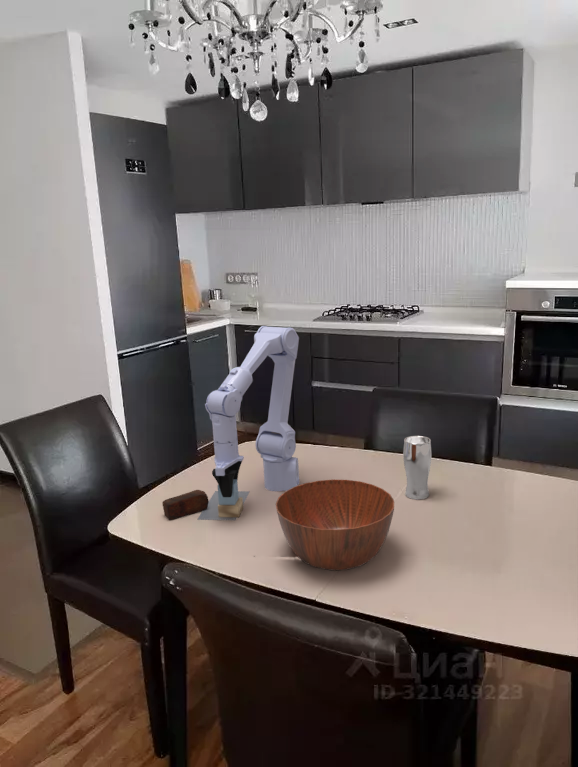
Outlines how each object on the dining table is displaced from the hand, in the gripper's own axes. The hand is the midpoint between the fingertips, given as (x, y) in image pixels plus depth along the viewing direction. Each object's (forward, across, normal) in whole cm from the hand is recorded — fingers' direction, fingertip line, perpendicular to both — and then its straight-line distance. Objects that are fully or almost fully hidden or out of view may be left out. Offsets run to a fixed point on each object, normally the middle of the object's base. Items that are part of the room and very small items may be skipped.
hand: (229, 492), depth 147 cm
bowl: (+6, -16, -27) cm, 32 cm away
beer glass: (+6, +14, -46) cm, 49 cm away
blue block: (+2, 0, 0) cm, 2 cm away
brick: (+6, 0, +11) cm, 13 cm away
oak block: (+5, 0, 0) cm, 5 cm away
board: (+6, +4, +3) cm, 8 cm away
